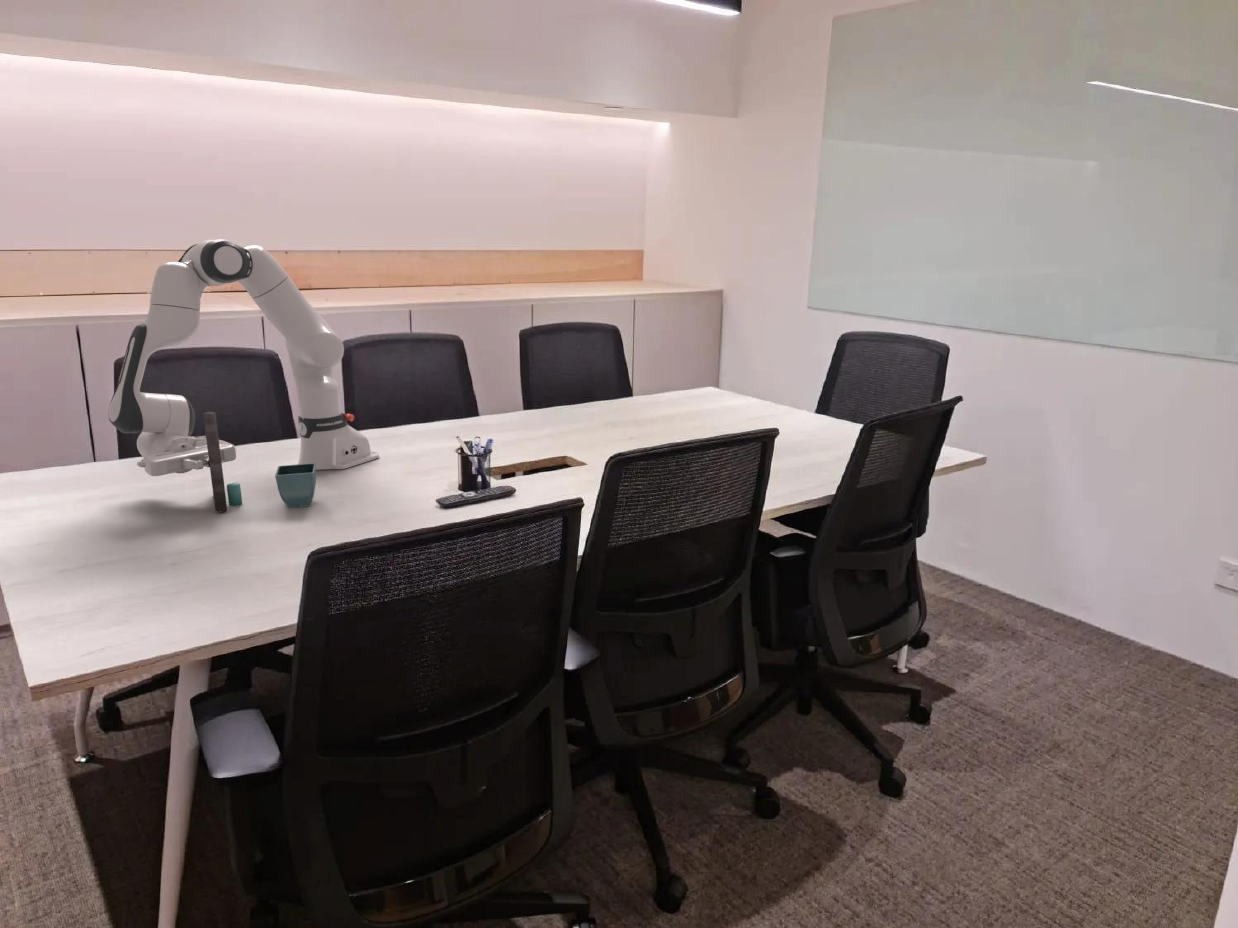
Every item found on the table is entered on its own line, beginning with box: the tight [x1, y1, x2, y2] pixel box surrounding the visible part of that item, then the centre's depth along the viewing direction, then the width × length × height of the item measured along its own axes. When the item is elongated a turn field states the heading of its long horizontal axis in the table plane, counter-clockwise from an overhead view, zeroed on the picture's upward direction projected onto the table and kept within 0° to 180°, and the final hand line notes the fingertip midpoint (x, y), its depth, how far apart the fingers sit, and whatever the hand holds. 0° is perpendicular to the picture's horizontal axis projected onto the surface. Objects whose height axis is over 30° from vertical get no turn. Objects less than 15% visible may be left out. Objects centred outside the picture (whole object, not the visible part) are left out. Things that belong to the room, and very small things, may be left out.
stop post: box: [226, 482, 243, 507], centre depth 215 cm, size 3×3×5 cm
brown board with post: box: [202, 411, 228, 513], centre depth 212 cm, size 15×3×24 cm, turn 26°
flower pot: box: [274, 463, 317, 508], centre depth 215 cm, size 9×9×9 cm
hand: (205, 464), depth 206 cm, fingers closed
